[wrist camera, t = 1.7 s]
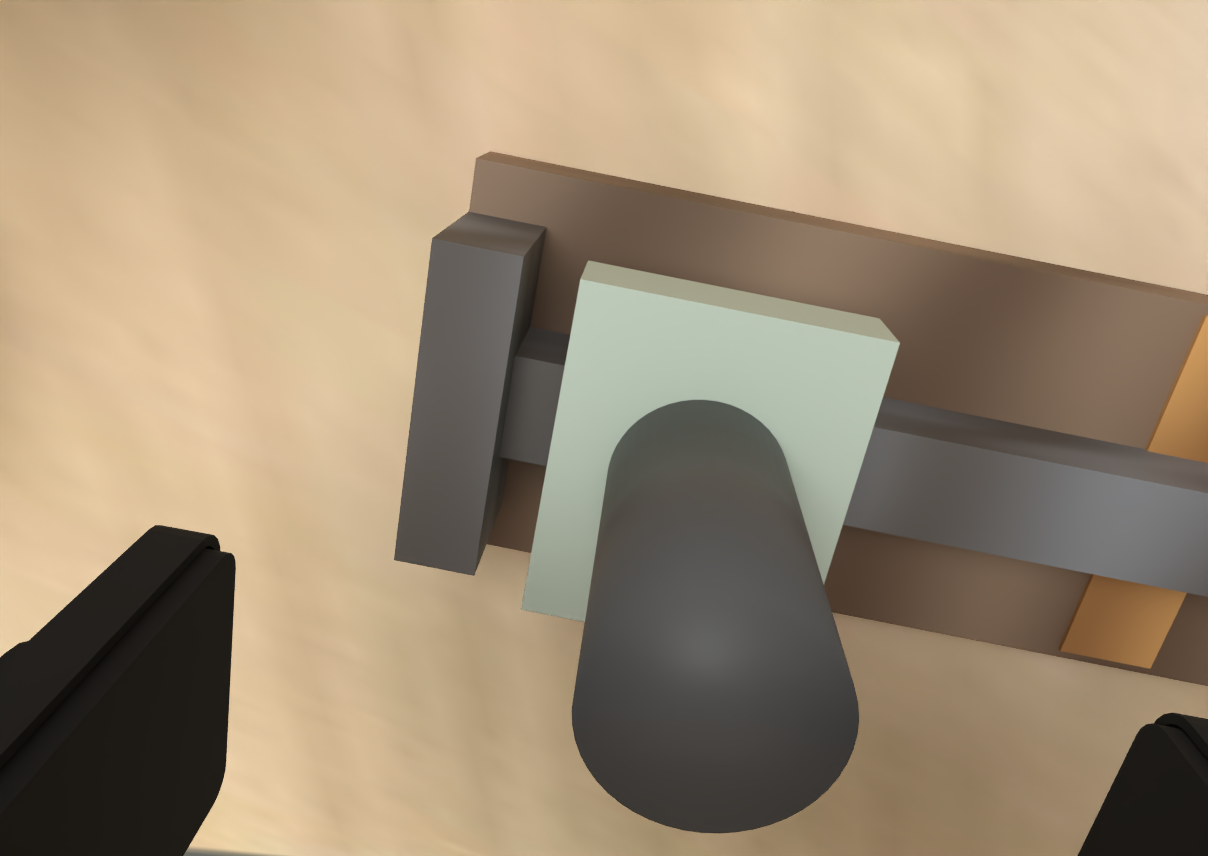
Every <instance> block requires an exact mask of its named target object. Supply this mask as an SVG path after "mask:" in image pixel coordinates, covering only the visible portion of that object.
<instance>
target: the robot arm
mask: <svg viewBox="0 0 1208 856" xmlns="http://www.w3.org/2000/svg"><path fill="white" fill-rule="evenodd" d="M235 570H236V567H235V558H234V556H233V555H232V554H231V553H227V552H222V551H220V545H219V541H218V539H217V538H216V537H215V536H214V535H210V534H205V533H199V532H194V531H189V530H183V529H178V528H172V527H167V526H162V525H155V526H154V527H152V528H151V529H149V530H148V531H147V532H146V533H145V534H144V535H143V536H141V537H140V538H139V539H138V540H137V541H136V542H135V543H134V544H133V545H132V546H131V547H130V548H128V549H127V550H126V551H125V552H124V553H123V554H122V555H121V556H120V557H119V558H118V559H117V560H116V561H114V562H113V563H112V564H111V565H110V566H109V567H108V568H107V569H106V570H105V571H104V572H103V573H101V574H100V575H99V576H98V577H97V578H96V579H95V580H94V581H93V582H92V583H91V584H90V585H89V586H87V587H86V588H85V589H84V590H83V591H82V592H81V593H80V594H79V595H78V596H77V597H76V598H74V599H73V600H72V601H71V602H70V603H69V604H68V605H67V606H66V607H65V608H64V609H63V610H61V611H60V612H59V613H58V614H57V615H56V616H55V617H54V618H53V619H52V620H51V621H50V622H49V623H47V624H46V625H45V626H44V627H43V628H42V629H41V630H40V631H39V632H38V633H37V634H36V635H34V636H33V637H32V638H31V639H30V640H29V641H26V642H22V643H19V644H17V645H16V646H15V647H13V648H12V649H10V650H9V651H7V652H6V653H5V654H4V655H3V656H1V657H0V856H183V855H184V853H185V852H186V850H187V848H188V847H189V845H190V843H191V842H192V840H193V838H194V837H195V835H196V833H197V831H198V830H199V828H200V826H201V825H202V823H203V821H204V820H205V818H206V816H207V815H208V813H209V811H210V809H211V808H212V806H213V804H214V802H215V800H216V798H217V796H218V793H219V791H220V788H221V785H222V782H223V778H224V773H225V767H226V753H227V733H228V712H229V692H230V672H231V651H232V631H233V611H234V590H235ZM1078 856H1208V719H1204V718H1198V717H1193V716H1188V715H1182V714H1177V713H1168V714H1164V715H1162V716H1161V717H1160V718H1158V719H1157V720H1156V721H1155V723H1154V724H1153V723H1152V724H1146V725H1145V726H1144V727H1142V728H1141V729H1140V731H1139V732H1138V733H1137V735H1136V737H1135V739H1134V741H1133V743H1132V745H1131V747H1130V749H1129V751H1128V753H1127V755H1126V757H1125V760H1124V762H1123V764H1122V766H1121V768H1120V770H1119V772H1118V774H1117V776H1116V778H1115V780H1114V782H1113V784H1112V786H1111V788H1110V790H1109V792H1108V794H1107V797H1106V799H1105V801H1104V803H1103V805H1102V807H1101V809H1100V811H1099V813H1098V815H1097V817H1096V819H1095V821H1094V823H1093V825H1092V827H1091V829H1090V831H1089V833H1088V836H1087V838H1086V840H1085V842H1084V844H1083V846H1082V848H1081V850H1080V852H1079V854H1078Z"/></svg>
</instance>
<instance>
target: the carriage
mask: <svg viewBox="0 0 1208 856" xmlns="http://www.w3.org/2000/svg"><path fill="white" fill-rule="evenodd" d="M899 345H900V342H899V341H898V340H897V339H896V337H895V336H894V335H893V334H892V333H891V331H890V330H889V329H888V328H887V327H886V326H885V324H884V323H883V322H882V321H881V320H880V318H875V317H870V316H865V315H860V314H855V313H850V312H844V311H839V310H834V309H829V308H824V307H819V306H814V305H809V304H804V303H799V302H794V301H789V300H784V299H779V298H774V297H769V296H764V295H759V294H754V293H749V292H744V291H739V290H734V289H729V288H724V287H719V286H714V285H709V284H704V283H699V282H694V281H689V280H684V279H679V278H674V277H669V276H664V275H659V274H654V273H649V272H644V271H639V270H634V269H629V268H624V267H619V266H614V265H609V264H604V263H599V262H594V261H589V260H588V262H587V265H586V267H585V269H584V272H583V274H582V277H581V279H580V284H579V290H578V295H577V301H576V306H575V312H574V318H573V323H572V329H571V334H570V340H569V345H568V351H567V356H566V362H565V368H564V373H563V379H562V384H561V390H560V395H559V401H558V407H557V412H556V418H555V423H554V429H553V434H552V440H551V446H550V451H549V457H548V462H547V468H546V473H545V479H544V485H543V490H542V496H541V501H540V507H539V512H538V518H537V524H536V529H535V535H534V540H533V546H532V551H531V557H530V563H529V568H528V574H527V579H526V585H525V590H524V596H523V601H522V607H521V610H526V611H531V612H536V613H541V614H546V615H551V616H556V617H561V618H567V619H572V620H577V621H582V622H585V625H584V631H583V638H582V645H581V651H580V658H579V664H578V671H577V678H576V684H575V691H574V698H573V706H572V726H573V731H574V736H575V741H576V744H577V747H578V750H579V752H580V755H581V757H582V759H583V761H584V763H585V765H586V766H587V768H588V770H589V771H590V772H591V774H592V775H593V777H594V778H595V779H596V781H597V782H598V783H599V784H600V785H601V786H602V787H603V788H604V789H605V790H606V791H607V793H609V794H610V795H611V796H612V797H613V798H615V799H616V800H617V801H618V802H620V803H621V804H622V805H624V806H625V807H627V808H629V809H630V810H632V811H633V812H635V813H637V814H639V815H641V816H643V817H645V818H647V819H649V820H652V821H654V822H657V823H660V824H663V825H665V826H669V827H673V828H677V829H681V830H686V831H693V832H700V833H731V832H740V831H746V830H752V829H757V828H760V827H764V826H767V825H771V824H773V823H776V822H779V821H781V820H784V819H786V818H788V817H790V816H792V815H794V814H796V813H798V812H799V811H801V810H803V809H804V808H806V807H807V806H809V805H810V804H811V803H813V802H814V801H816V800H817V799H818V798H819V797H820V796H821V795H822V794H824V793H825V792H826V791H827V790H828V789H829V788H830V787H831V785H832V784H833V783H834V782H835V781H836V779H837V778H838V777H839V776H840V774H841V772H842V771H843V769H844V768H845V766H846V765H847V763H848V760H849V758H850V756H851V754H852V751H853V749H854V745H855V741H856V738H857V733H858V723H859V711H858V701H857V696H856V692H855V688H854V684H853V681H852V678H851V674H850V671H849V668H848V664H847V661H846V658H845V654H844V651H843V648H842V644H841V641H840V638H839V634H838V631H837V628H836V624H835V621H834V618H833V614H832V611H831V608H830V604H829V601H828V598H827V594H826V591H825V588H824V583H825V579H826V576H827V573H828V570H829V567H830V563H831V560H832V557H833V554H834V551H835V548H836V544H837V541H838V538H839V535H840V532H841V529H842V525H843V522H844V519H845V516H846V513H847V510H848V506H849V503H850V500H851V497H852V494H853V491H854V487H855V484H856V481H857V478H858V475H859V472H860V468H861V465H862V462H863V459H864V456H865V453H866V449H867V446H868V443H869V440H870V437H871V434H872V430H873V427H874V424H875V421H876V418H877V414H878V411H879V408H880V405H881V402H882V399H883V395H884V392H885V389H886V386H887V383H888V380H889V376H890V373H891V370H892V367H893V364H894V361H895V357H896V354H897V351H898V348H899Z"/></svg>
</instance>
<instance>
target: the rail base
mask: <svg viewBox="0 0 1208 856" xmlns="http://www.w3.org/2000/svg"><path fill="white" fill-rule="evenodd" d="M588 260H589V261H594V262H599V263H604V264H609V265H614V266H619V267H624V268H629V269H634V270H639V271H644V272H649V273H654V274H659V275H664V276H669V277H674V278H679V279H684V280H689V281H694V282H699V283H704V284H709V285H714V286H719V287H724V288H729V289H734V290H739V291H744V292H749V293H754V294H759V295H764V296H769V297H774V298H779V299H784V300H789V301H794V302H799V303H804V304H809V305H814V306H819V307H824V308H829V309H834V310H839V311H844V312H850V313H855V314H860V315H865V316H870V317H875V318H880V320H881V321H882V322H883V323H884V324H885V326H886V327H887V328H888V329H889V330H890V331H891V333H892V334H893V335H894V336H895V337H896V339H897V340H898V341H899V342H900V345H899V348H898V351H897V354H896V357H895V361H894V364H893V367H892V370H891V373H890V376H889V380H888V383H887V386H886V389H885V392H884V395H883V399H882V402H881V405H880V408H879V411H878V414H877V418H876V421H875V424H874V427H873V430H872V434H871V437H870V440H869V443H868V446H867V449H866V453H865V456H864V459H863V462H862V465H861V468H860V472H859V475H858V478H857V481H856V484H855V487H854V491H853V494H852V497H851V500H850V503H849V506H848V510H847V513H846V516H845V519H844V522H843V525H842V529H841V532H840V535H839V538H838V541H837V544H836V548H835V551H834V554H833V557H832V560H831V563H830V567H829V570H828V573H827V576H826V579H825V583H824V588H825V591H826V594H827V598H828V601H829V604H830V608H831V611H832V612H835V613H840V614H845V615H850V616H855V617H860V618H865V619H870V620H875V621H881V622H886V623H891V624H896V625H901V626H906V627H911V628H916V629H921V630H926V631H931V632H936V633H941V634H947V635H952V636H957V637H962V638H967V639H972V640H977V641H982V642H987V643H992V644H997V645H1002V646H1007V647H1012V648H1018V649H1023V650H1028V651H1033V652H1038V653H1043V654H1048V655H1053V656H1058V657H1063V658H1068V659H1073V660H1078V661H1084V662H1089V663H1094V664H1099V665H1104V666H1109V667H1114V668H1119V669H1124V670H1129V671H1134V672H1139V673H1144V674H1150V675H1155V676H1160V677H1165V678H1170V679H1175V680H1180V681H1185V682H1190V683H1195V684H1200V685H1205V686H1208V295H1205V294H1200V293H1195V292H1190V291H1185V290H1180V289H1175V288H1170V287H1165V286H1160V285H1155V284H1150V283H1145V282H1140V281H1135V280H1130V279H1125V278H1120V277H1115V276H1110V275H1105V274H1100V273H1095V272H1090V271H1085V270H1080V269H1075V268H1070V267H1065V266H1060V265H1055V264H1050V263H1045V262H1040V261H1035V260H1030V259H1025V258H1020V257H1015V256H1010V255H1005V254H1000V253H995V252H990V251H985V250H980V249H975V248H970V247H965V246H960V245H955V244H950V243H945V242H940V241H935V240H930V239H925V238H920V237H915V236H910V235H905V234H900V233H895V232H890V231H885V230H880V229H875V228H870V227H865V226H860V225H855V224H850V223H845V222H840V221H835V220H830V219H825V218H820V217H815V216H810V215H805V214H800V213H795V212H790V211H785V210H780V209H775V208H770V207H765V206H760V205H755V204H750V203H745V202H740V201H735V200H730V199H725V198H720V197H715V196H710V195H705V194H700V193H695V192H690V191H685V190H680V189H675V188H670V187H665V186H660V185H655V184H650V183H645V182H640V181H635V180H630V179H625V178H620V177H615V176H610V175H605V174H600V173H595V172H590V171H585V170H580V169H575V168H570V167H565V166H560V165H555V164H550V163H545V162H540V161H535V160H530V159H525V158H520V157H515V156H510V155H505V154H500V153H495V152H488V153H486V154H484V155H482V156H480V157H478V158H476V164H475V171H474V179H473V187H472V194H471V202H470V209H469V212H468V213H467V214H465V215H464V216H462V217H461V218H460V219H458V220H457V221H456V222H454V223H453V224H451V225H450V226H449V227H447V228H446V229H444V230H443V231H442V232H440V233H439V234H438V235H436V236H435V237H433V238H432V245H431V253H430V261H429V270H428V278H427V287H426V295H425V304H424V312H423V321H422V329H421V337H420V346H419V354H418V363H417V371H416V380H415V388H414V396H413V405H412V413H411V422H410V430H409V439H408V447H407V456H406V464H405V472H404V481H403V489H402V498H401V506H400V515H399V523H398V532H397V540H396V548H395V557H394V560H397V561H402V562H407V563H412V564H417V565H422V566H427V567H433V568H438V569H443V570H448V571H453V572H458V573H463V574H468V575H473V576H474V575H475V572H476V570H477V567H478V564H479V562H480V559H481V556H482V554H483V551H484V549H485V546H486V544H490V545H495V546H500V547H505V548H510V549H515V550H520V551H525V552H530V553H531V551H532V546H533V540H534V535H535V529H536V524H537V518H538V512H539V507H540V501H541V496H542V490H543V485H544V479H545V473H546V468H547V462H548V457H549V451H550V446H551V440H552V434H553V429H554V423H555V418H556V412H557V407H558V401H559V395H560V390H561V384H562V379H563V373H564V368H565V362H566V356H567V351H568V345H569V340H570V334H571V329H572V323H573V318H574V312H575V306H576V301H577V295H578V290H579V284H580V279H581V277H582V274H583V272H584V269H585V267H586V265H587V262H588Z"/></svg>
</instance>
